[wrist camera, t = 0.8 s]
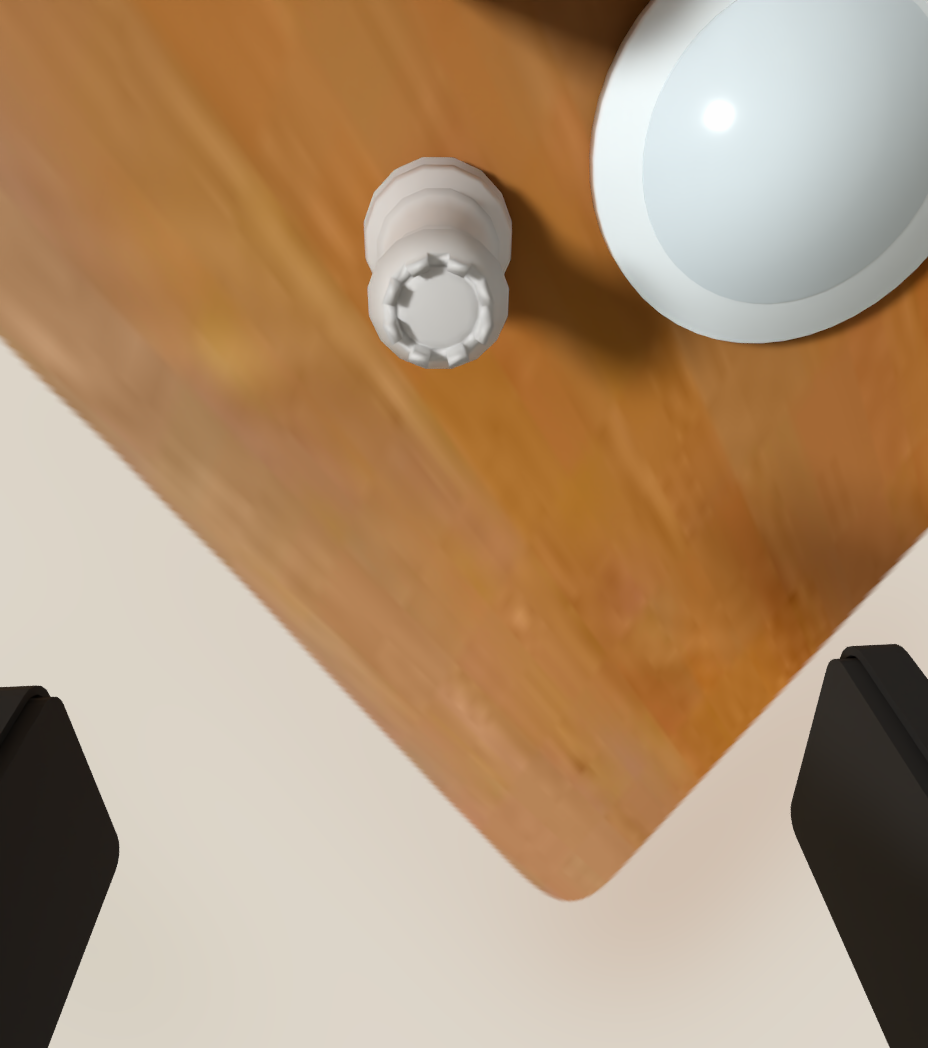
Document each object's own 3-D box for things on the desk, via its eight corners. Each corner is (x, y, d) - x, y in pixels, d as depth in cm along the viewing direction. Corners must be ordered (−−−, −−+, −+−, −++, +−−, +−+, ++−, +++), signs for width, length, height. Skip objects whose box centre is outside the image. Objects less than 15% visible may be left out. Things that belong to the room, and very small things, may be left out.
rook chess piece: (541, 213, 24) (581, 287, 17) (457, 332, 26) (465, 442, 19) (416, 119, 23) (407, 161, 16) (337, 253, 25) (299, 341, 18)
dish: (598, -81, 20) (608, -87, 19) (1028, -100, 21) (1063, -107, 19) (581, 338, 26) (588, 352, 25) (916, 323, 26) (938, 336, 25)
